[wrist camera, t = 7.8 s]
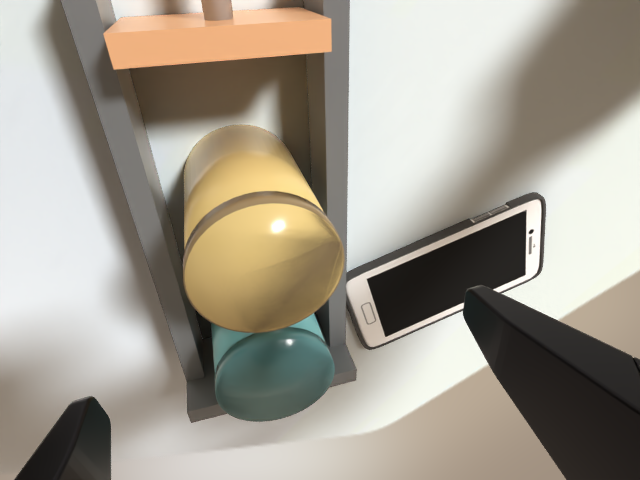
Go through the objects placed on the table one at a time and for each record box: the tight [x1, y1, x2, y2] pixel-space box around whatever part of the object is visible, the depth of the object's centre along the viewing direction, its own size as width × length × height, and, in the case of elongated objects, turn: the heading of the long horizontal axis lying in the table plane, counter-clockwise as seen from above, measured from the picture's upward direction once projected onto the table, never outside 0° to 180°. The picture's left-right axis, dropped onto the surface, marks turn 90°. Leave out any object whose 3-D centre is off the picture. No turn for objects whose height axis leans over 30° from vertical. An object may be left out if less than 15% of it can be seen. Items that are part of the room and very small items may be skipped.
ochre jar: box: [183, 125, 345, 333], centre depth 18 cm, size 6×6×8 cm
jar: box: [211, 313, 335, 422], centre depth 22 cm, size 6×6×7 cm
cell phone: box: [346, 192, 546, 350], centre depth 29 cm, size 8×15×1 cm, turn 107°
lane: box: [61, 0, 357, 423], centre depth 19 cm, size 10×21×5 cm, turn 1°
